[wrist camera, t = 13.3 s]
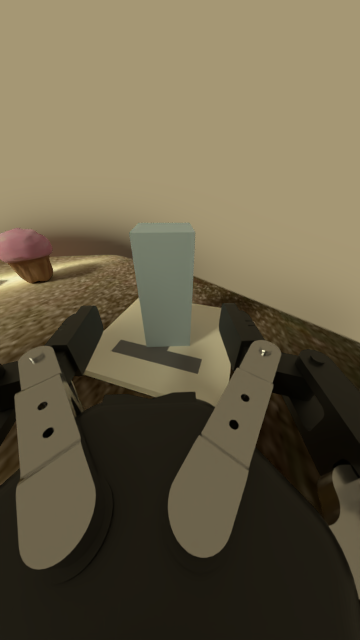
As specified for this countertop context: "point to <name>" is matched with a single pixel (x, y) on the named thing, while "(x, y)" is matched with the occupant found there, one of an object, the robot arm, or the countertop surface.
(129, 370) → the board
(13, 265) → the cupcake
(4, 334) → the countertop surface
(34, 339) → the countertop surface
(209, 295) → the countertop surface
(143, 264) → the grey rectangular block
